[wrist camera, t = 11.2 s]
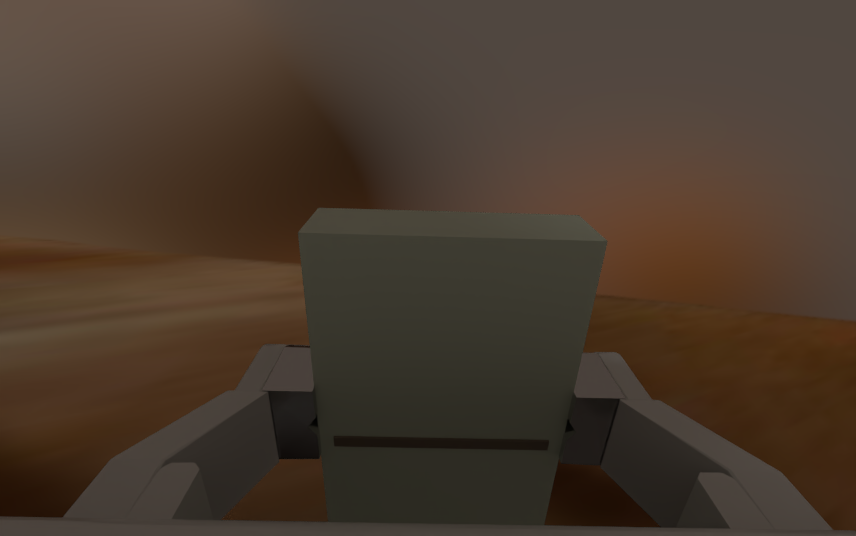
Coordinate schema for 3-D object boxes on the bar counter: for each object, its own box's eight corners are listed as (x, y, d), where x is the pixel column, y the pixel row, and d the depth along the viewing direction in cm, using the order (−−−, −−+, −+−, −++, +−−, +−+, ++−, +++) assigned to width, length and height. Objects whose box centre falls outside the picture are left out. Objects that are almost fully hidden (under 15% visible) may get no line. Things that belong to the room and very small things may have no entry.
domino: (533, 577, 10) (608, 241, 7) (333, 575, 10) (297, 233, 7) (520, 520, 12) (578, 214, 8) (343, 517, 12) (319, 207, 8)
